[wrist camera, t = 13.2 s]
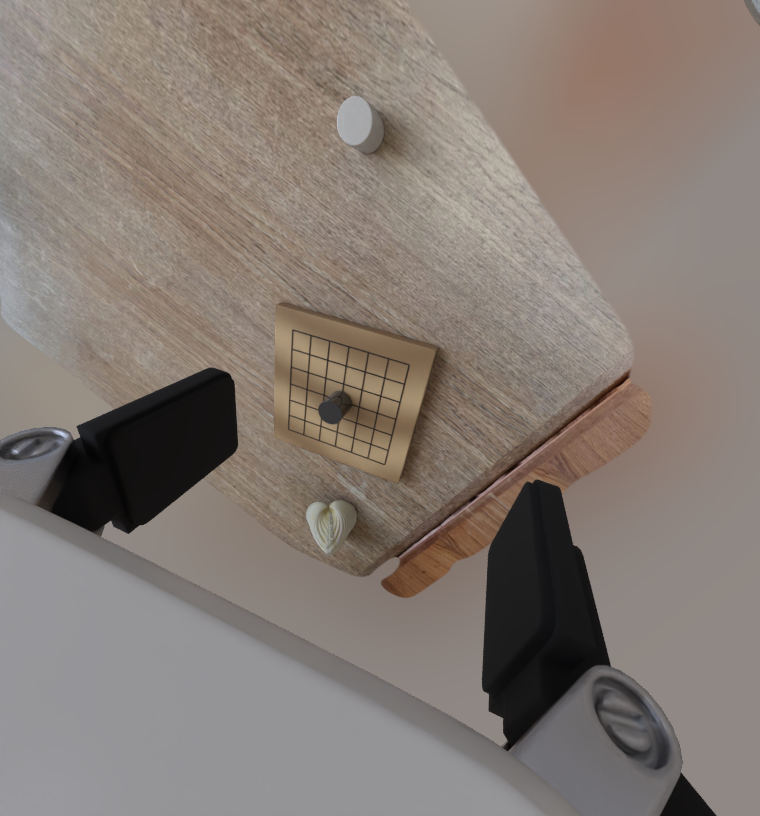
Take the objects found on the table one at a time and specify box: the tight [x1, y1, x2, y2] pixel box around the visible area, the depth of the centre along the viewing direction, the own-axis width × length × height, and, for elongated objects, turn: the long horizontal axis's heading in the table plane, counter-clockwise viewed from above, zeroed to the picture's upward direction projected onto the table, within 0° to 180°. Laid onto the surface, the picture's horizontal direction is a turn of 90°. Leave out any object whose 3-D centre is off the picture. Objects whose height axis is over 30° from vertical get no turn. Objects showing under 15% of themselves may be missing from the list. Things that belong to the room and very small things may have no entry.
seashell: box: [306, 500, 357, 554], centre depth 52 cm, size 8×8×8 cm
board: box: [274, 302, 438, 484], centre depth 43 cm, size 20×20×2 cm
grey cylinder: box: [337, 96, 384, 154], centre depth 28 cm, size 3×3×3 cm
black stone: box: [318, 391, 352, 424], centre depth 41 cm, size 3×3×3 cm
